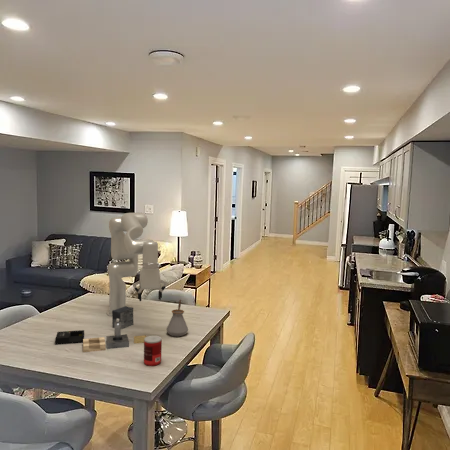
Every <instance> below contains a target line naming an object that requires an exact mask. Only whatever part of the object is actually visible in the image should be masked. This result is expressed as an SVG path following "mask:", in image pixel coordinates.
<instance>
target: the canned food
mask: <svg viewBox="0 0 450 450" xmlns="http://www.w3.org/2000/svg"><path fill="white" fill-rule="evenodd" d="M162 339H163V338H162V337H161V336H159V335H148V336H146V338H144V343H143V363H144V365H146V366H149V367H156V366H158V365H160V364H161V363H162V348H163V347H162V344H163V343H162V341H163V340H162Z"/></svg>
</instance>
